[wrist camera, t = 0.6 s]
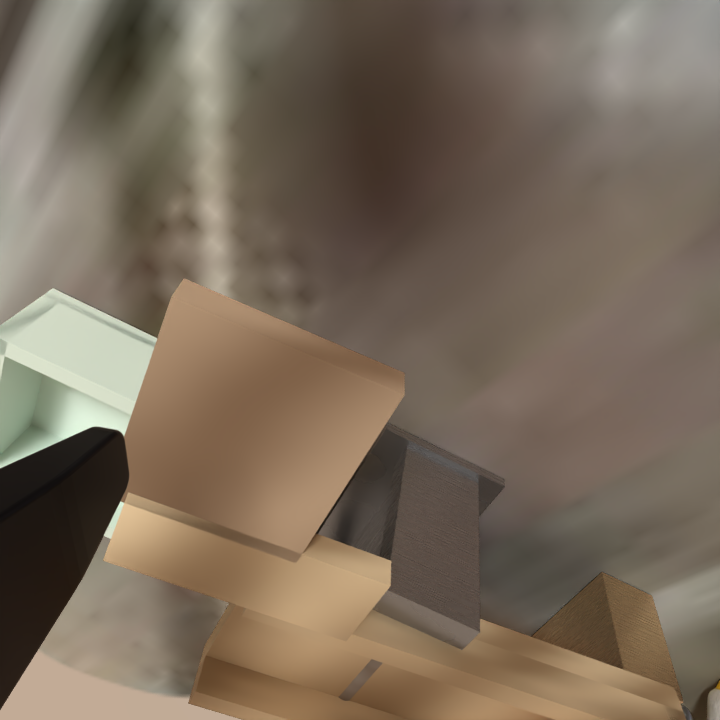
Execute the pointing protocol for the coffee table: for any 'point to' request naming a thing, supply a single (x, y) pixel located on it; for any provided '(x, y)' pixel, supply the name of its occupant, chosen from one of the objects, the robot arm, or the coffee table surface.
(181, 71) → the coffee table surface
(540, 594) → the coffee table surface
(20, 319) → the mint cubby shelf
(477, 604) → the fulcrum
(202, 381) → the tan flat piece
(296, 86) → the coffee table surface
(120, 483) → the robot arm
